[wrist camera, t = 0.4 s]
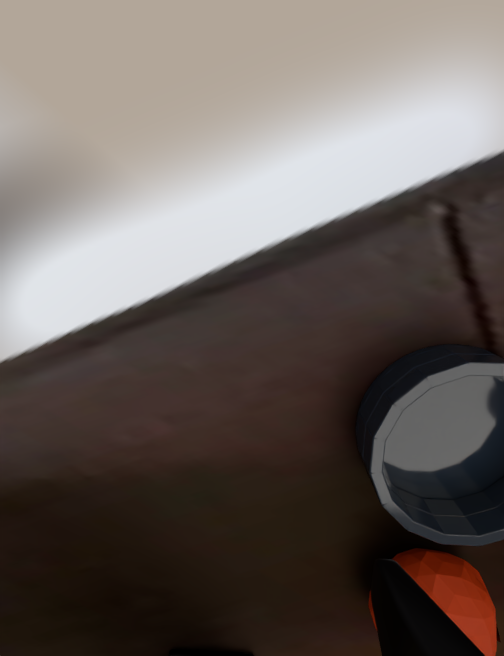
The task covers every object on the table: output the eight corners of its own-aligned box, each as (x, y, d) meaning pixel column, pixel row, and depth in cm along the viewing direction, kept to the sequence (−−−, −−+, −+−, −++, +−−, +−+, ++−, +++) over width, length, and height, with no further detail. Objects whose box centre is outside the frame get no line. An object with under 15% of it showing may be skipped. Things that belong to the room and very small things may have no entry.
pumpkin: (457, 513, 23) (527, 612, 17) (477, 609, 25) (548, 732, 18) (348, 536, 24) (376, 638, 18) (375, 628, 25) (409, 751, 19)
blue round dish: (516, 505, 23) (559, 550, 19) (349, 497, 23) (363, 541, 20) (548, 346, 20) (604, 365, 17) (362, 341, 21) (380, 359, 18)
